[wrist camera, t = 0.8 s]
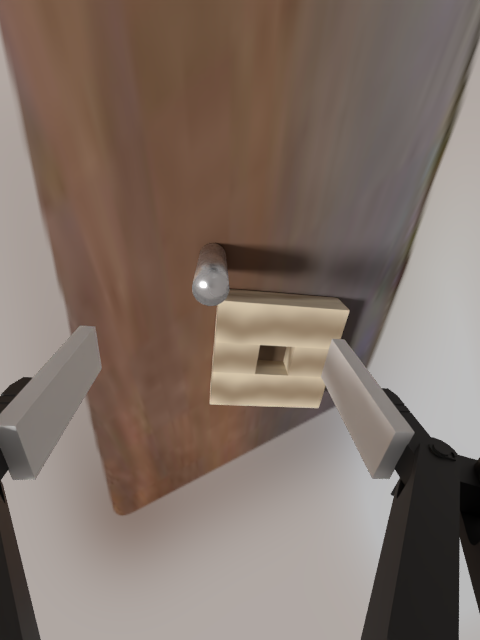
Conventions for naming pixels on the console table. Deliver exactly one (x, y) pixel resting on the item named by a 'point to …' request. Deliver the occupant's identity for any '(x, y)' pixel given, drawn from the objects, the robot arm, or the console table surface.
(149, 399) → the console table surface
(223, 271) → the pin
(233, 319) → the bore block
